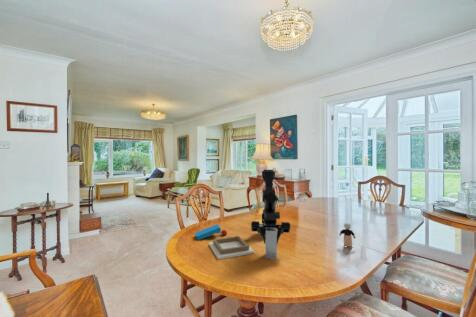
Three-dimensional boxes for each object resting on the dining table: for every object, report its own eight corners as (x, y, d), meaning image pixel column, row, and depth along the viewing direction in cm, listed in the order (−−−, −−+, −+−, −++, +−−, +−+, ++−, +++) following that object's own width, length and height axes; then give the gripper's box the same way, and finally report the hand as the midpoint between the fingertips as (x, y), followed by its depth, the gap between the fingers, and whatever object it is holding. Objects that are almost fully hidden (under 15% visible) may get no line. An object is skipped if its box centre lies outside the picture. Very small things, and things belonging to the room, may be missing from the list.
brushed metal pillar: (265, 253, 109) (265, 227, 108) (275, 254, 108) (276, 227, 108) (265, 258, 104) (265, 230, 103) (276, 259, 103) (276, 231, 103)
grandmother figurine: (354, 246, 118) (354, 222, 118) (355, 249, 114) (356, 224, 114) (338, 244, 120) (338, 220, 120) (339, 247, 117) (339, 222, 117)
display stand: (240, 240, 126) (240, 234, 126) (253, 253, 109) (253, 246, 109) (209, 244, 120) (209, 238, 120) (218, 259, 103) (218, 252, 103)
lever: (199, 248, 127) (229, 236, 132) (196, 236, 126) (225, 225, 132) (198, 243, 134) (226, 232, 139) (194, 232, 133) (223, 221, 138)
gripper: (251, 205, 110) (250, 235, 100) (289, 205, 108) (293, 236, 98) (252, 216, 118) (251, 245, 107) (287, 217, 116) (290, 247, 106)
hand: (270, 243), depth 104 cm, fingers closed on brushed metal pillar, 5 cm apart
